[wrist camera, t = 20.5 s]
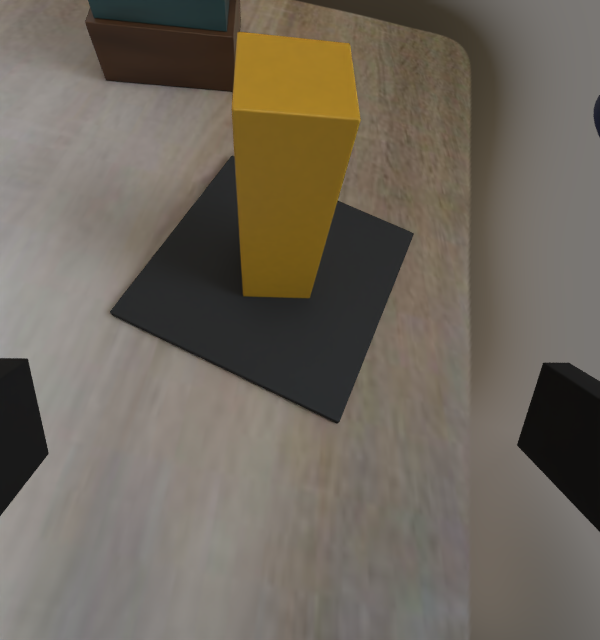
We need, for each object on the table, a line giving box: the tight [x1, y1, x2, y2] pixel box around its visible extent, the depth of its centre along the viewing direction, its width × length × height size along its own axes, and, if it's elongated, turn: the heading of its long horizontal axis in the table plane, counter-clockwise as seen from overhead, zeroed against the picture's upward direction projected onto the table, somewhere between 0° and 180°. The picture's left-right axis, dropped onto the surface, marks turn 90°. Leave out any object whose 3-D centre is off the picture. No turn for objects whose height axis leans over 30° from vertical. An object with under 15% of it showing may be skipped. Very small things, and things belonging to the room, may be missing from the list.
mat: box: [110, 156, 414, 423], centre depth 23 cm, size 14×14×1 cm
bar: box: [232, 32, 360, 298], centre depth 18 cm, size 4×4×12 cm
